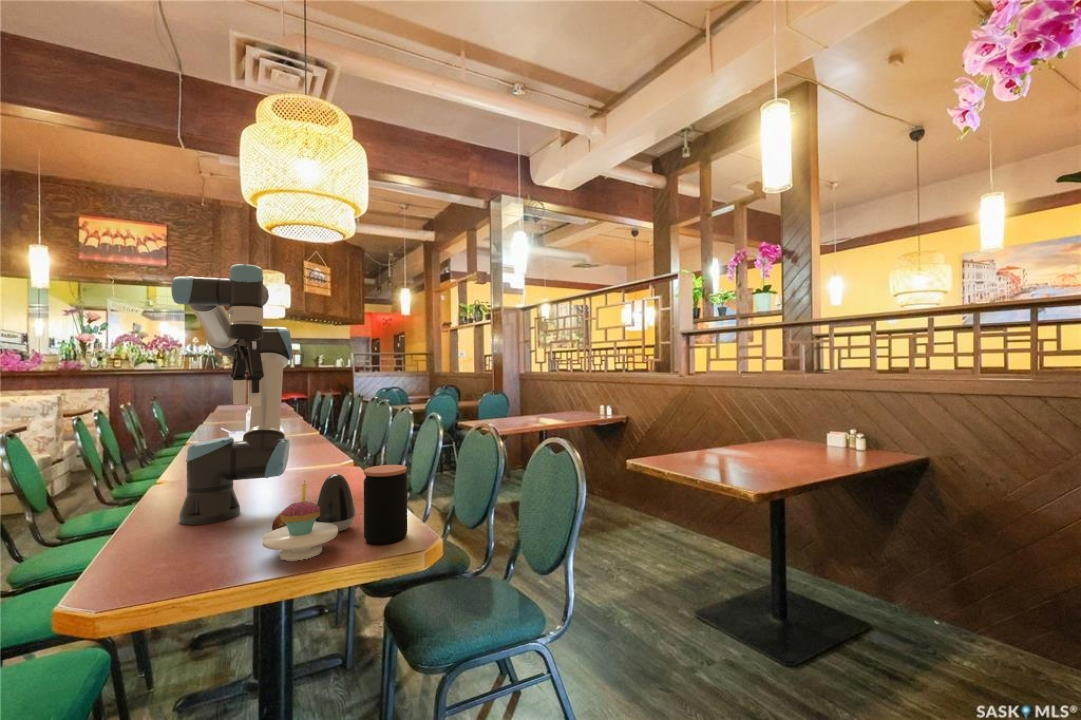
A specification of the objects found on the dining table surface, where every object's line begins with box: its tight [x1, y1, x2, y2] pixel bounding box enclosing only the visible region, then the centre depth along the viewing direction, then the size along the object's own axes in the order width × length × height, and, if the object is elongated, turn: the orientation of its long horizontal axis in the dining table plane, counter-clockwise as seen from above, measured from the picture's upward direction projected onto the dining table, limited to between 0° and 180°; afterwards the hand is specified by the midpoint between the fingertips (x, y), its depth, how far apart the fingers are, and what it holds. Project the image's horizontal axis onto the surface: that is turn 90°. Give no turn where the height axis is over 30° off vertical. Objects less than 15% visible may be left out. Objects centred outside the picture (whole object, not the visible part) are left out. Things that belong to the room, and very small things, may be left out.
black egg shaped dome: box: [315, 473, 356, 533], centre depth 134 cm, size 10×10×15 cm
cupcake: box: [280, 479, 320, 536], centre depth 116 cm, size 9×8×12 cm
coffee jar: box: [363, 464, 408, 546], centre depth 126 cm, size 11×11×18 cm
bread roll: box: [271, 511, 286, 531], centre depth 134 cm, size 10×10×8 cm
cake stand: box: [262, 521, 339, 562], centre depth 116 cm, size 16×16×5 cm
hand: (246, 405), depth 128 cm, fingers open, 13 cm apart
